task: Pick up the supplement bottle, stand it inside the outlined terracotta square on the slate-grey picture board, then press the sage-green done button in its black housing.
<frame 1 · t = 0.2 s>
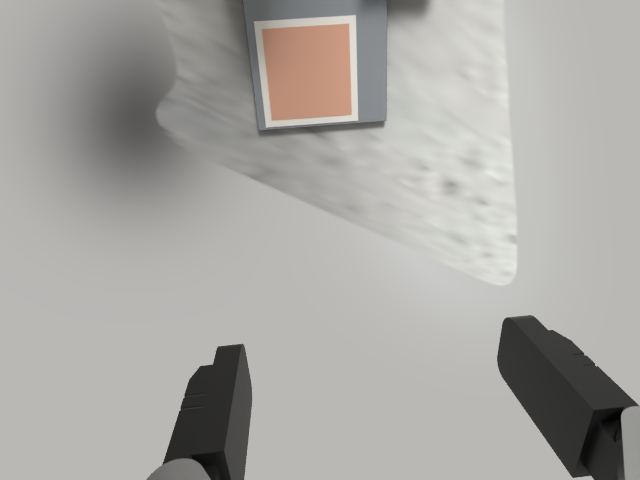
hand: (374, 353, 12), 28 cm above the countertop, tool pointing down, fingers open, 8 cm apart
picture board: (318, 60, 34), on the countertop
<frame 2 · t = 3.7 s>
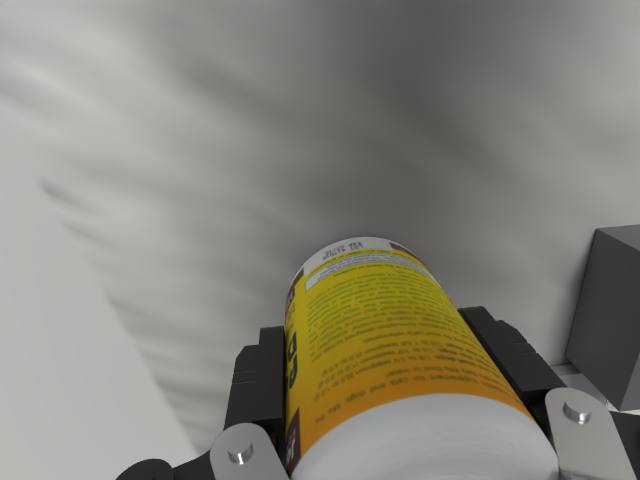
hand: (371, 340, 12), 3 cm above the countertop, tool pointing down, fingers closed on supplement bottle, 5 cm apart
picture board: (463, 459, 19), on the countertop
supplement bottle: (357, 295, 15), on the countertop, touching gripper
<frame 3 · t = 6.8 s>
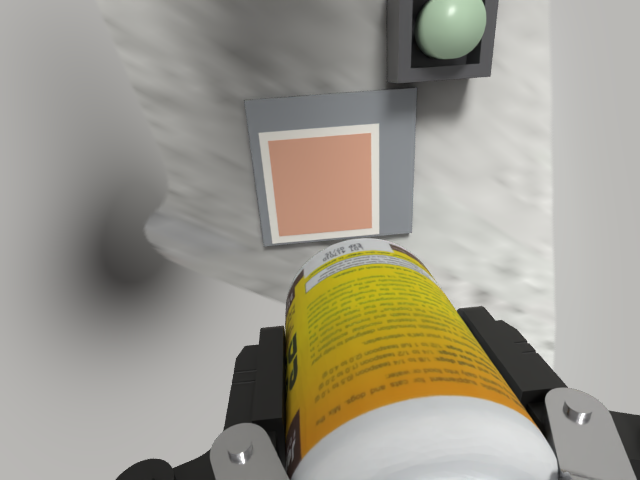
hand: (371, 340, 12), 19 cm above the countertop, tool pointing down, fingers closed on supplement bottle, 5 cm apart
button housing: (430, 30, 26), on the countertop
picture board: (334, 170, 29), on the countertop
done button: (449, 25, 23), point 3 cm above the countertop, slide at 0.0 cm
supplement bottle: (357, 296, 15), point 16 cm above the countertop, touching gripper
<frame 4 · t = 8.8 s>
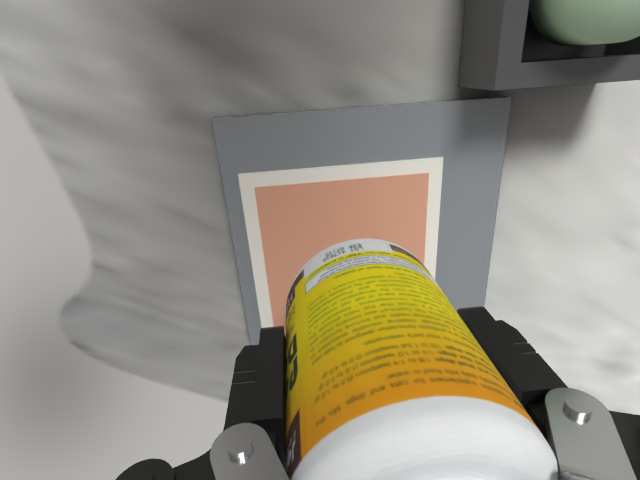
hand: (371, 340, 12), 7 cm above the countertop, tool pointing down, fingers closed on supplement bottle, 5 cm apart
picture board: (363, 230, 18), on the countertop
supplement bottle: (357, 296, 15), point 4 cm above the countertop, touching gripper
when the fingers open (4 cm above the countertop, at t = 10.3 s): supplement bottle drops 1 cm, resting on picture board.
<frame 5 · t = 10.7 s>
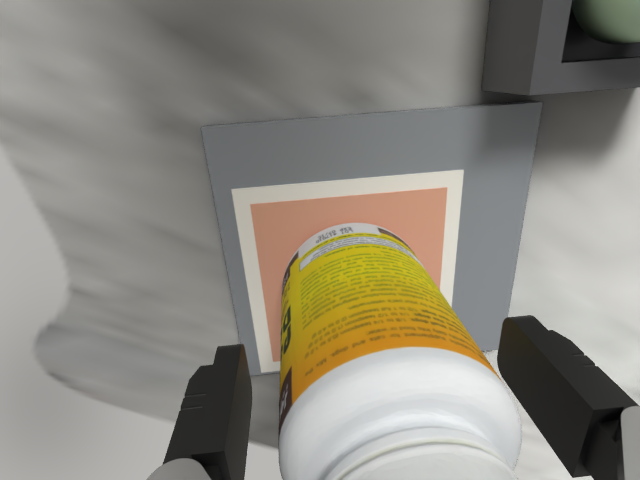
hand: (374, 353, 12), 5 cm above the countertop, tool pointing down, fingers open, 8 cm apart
picture board: (373, 250, 16), on the countertop
supplement bottle: (349, 278, 16), point 1 cm above the countertop, touching picture board
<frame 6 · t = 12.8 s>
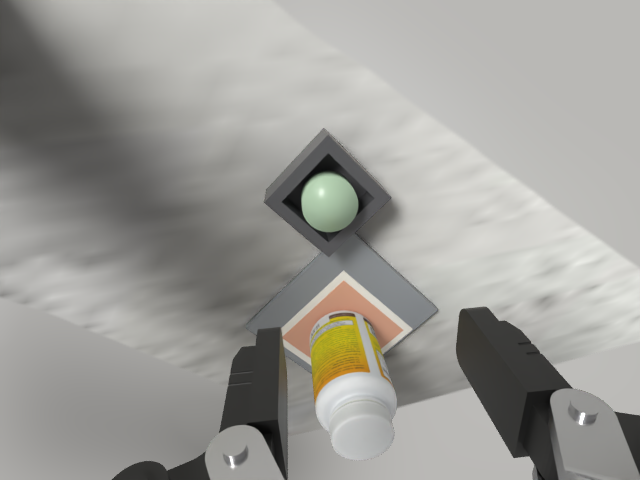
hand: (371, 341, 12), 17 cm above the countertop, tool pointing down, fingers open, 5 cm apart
button housing: (324, 187, 28), on the countertop
picture board: (342, 315, 33), on the countertop
done button: (328, 201, 25), point 3 cm above the countertop, slide at 0.0 cm
supplement bottle: (341, 333, 33), point 1 cm above the countertop, touching picture board
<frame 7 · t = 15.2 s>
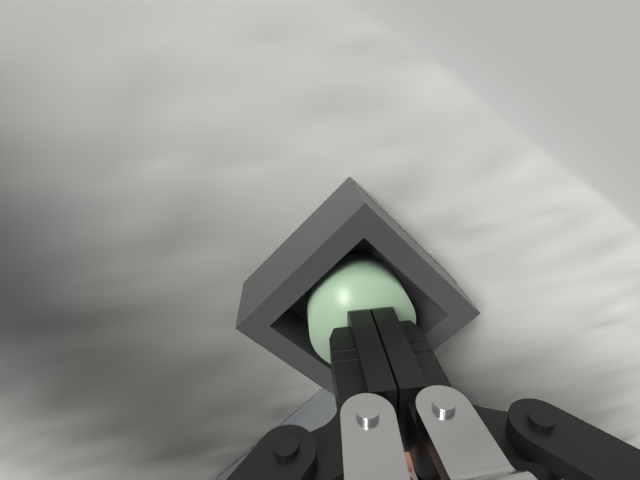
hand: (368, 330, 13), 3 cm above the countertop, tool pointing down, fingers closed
button housing: (347, 277, 16), on the countertop
picture board: (370, 459, 21), on the countertop
done button: (357, 310, 14), point 2 cm above the countertop, slide at 0.8 cm, touching gripper
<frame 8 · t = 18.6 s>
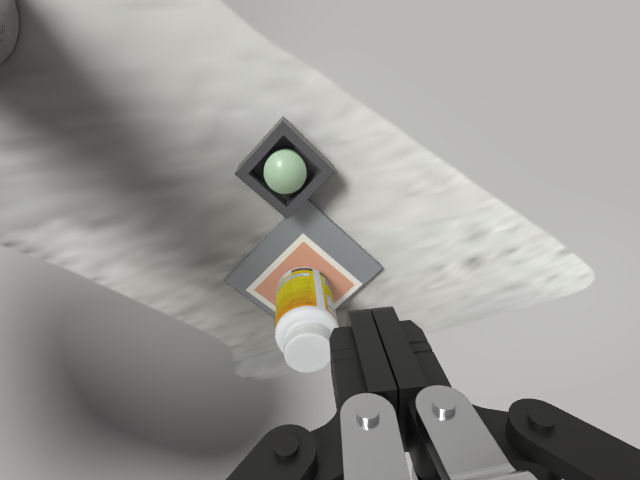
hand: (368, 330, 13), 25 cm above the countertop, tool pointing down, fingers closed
button housing: (285, 164, 35), on the countertop
picture board: (304, 272, 40), on the countertop
done button: (285, 170, 33), point 2 cm above the countertop, slide at 0.9 cm
supplement bottle: (303, 286, 40), point 1 cm above the countertop, touching picture board
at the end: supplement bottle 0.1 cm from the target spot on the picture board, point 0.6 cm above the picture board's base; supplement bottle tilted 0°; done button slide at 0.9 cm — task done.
